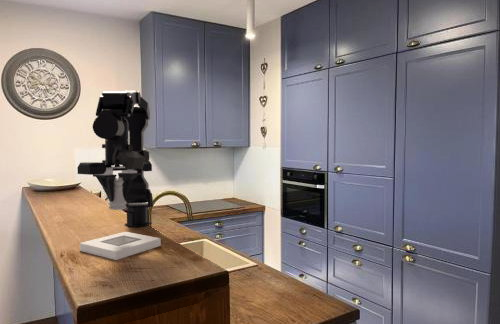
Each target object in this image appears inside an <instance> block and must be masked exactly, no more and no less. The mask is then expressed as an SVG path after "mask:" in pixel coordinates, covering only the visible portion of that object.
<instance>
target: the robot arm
mask: <svg viewBox="0 0 500 324" xmlns="http://www.w3.org/2000/svg"><path fill="white" fill-rule="evenodd" d="M150 112H151V111H150V106H149V103H148V101H146V100H145V99H144V98H143V97H142V96H141V91H138V90H124V91H109V90H108V91H106V90H105V91H103V92H102V93H101V95H99V97H98V102H97V106H96V111H95V116H96V118H95V119H94V121H93V123H92V131H93V133H94V134H95V135H96V136H97V137H98V138H100V139H104V141H105V142H104V143H102V144H101V148H102V149H104V150H105V151H104V154H105V155H104V156H105V158H104V159H102V160H101V162H99V161H97V162H96V161H95V162H93V161H89V162H79V164H78V166H77V175H86V176H87V175H88V176H89V175H90V176H92V177H94V178H96V179H97V181H98V182H99V184H100V186H102V187H101V188H102V189H103V191H104V193H105V195H106V196H107V199H108V201H109V202H110V201H111V202H112V201H113V200H114V180H115V178H117V176H118V178H123V181H124V182H123V184H122V187H123V188H122V191H123V197H124V199H125V201H126V204H125V205H126V206H127V207H126V208H127V212H126V223H124V226H127V227H132V228H133V227H134V228H140V227H144V226H149V225H152V224H153V222H152V221H149V220H150V217H149V215H150V214H149V211H150V210H149V208H151V207H153V206H154V198H153V193H152V191H151V188H150V185H149V182H148V181H147V178H145V177H144V176H145V172H152V171H153V164H152V163H151V161H150V151H148V150H146V149H144V132H145V131H146V129H147V127H149V121H150V120H151V119H150V118H151V113H150ZM116 171H117V172H118V171H121V172H118V173H117V174H118V175H117V174H114V172H116ZM126 208H125V209H126Z"/></svg>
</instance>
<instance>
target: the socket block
mask: <svg viewBox="0 0 500 324" xmlns="http://www.w3.org/2000/svg"><path fill="white" fill-rule="evenodd" d="M161 242H162V241H161V237H155V236H150V235H144V234H139V233H136V232H135V233H134V232H128V231H122V232H119V233H118V232H117V233H114V234H110V235H106V236H104V237H99V238H94V239H90V240H86V241H82V242H79V251H80V252H84V253H86V254H91V255H95V256H99V257H102V258H106V259H108V260H109V259H110V260H114V261H117V260H120V259H125V258H127V257H130V256H133V255H136V254H139V253H143V252H145V251H149V250H152V249H155V248H158V247H161V244H162V243H161Z"/></svg>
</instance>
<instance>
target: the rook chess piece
mask: <svg viewBox="0 0 500 324" xmlns="http://www.w3.org/2000/svg"><path fill="white" fill-rule="evenodd" d="M123 182H124V181H123V178H119V177H116V178H115V180H114V200H113V201H112V202H111V201H109V202H108V205H109V207H108V209H109V210H112V211H120V210H125V209H126V207H127V206H126V205H125V204H126V201H125V199H124V197H123V191H122V188H123V187H122V184H123ZM127 208H128V207H127Z"/></svg>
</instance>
